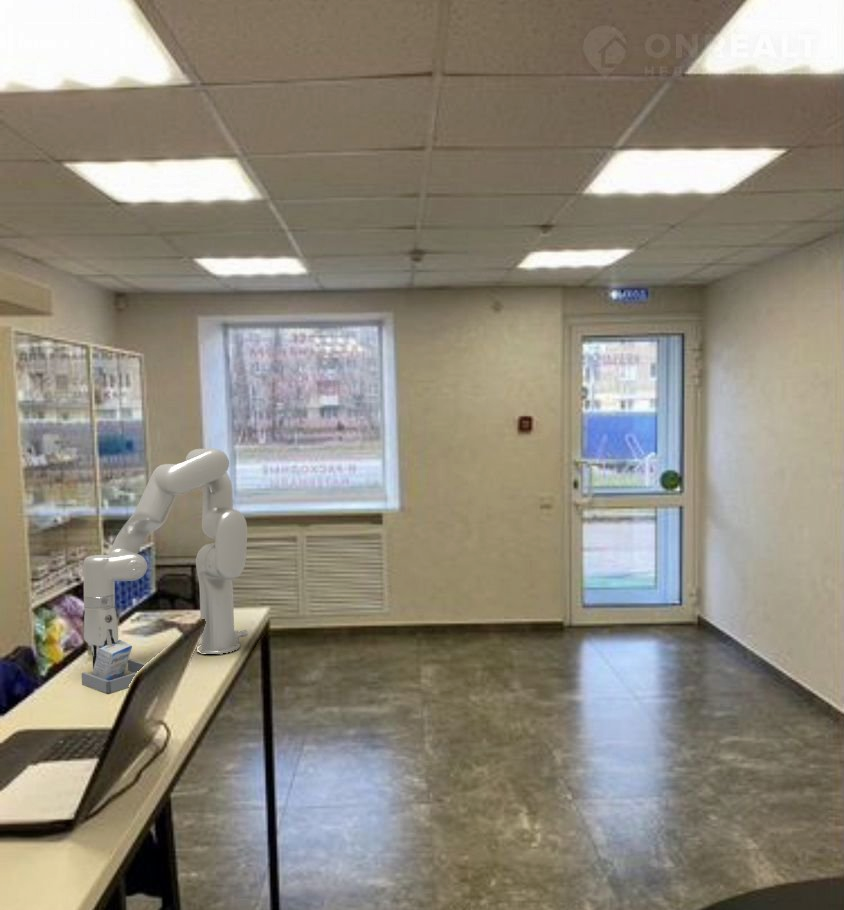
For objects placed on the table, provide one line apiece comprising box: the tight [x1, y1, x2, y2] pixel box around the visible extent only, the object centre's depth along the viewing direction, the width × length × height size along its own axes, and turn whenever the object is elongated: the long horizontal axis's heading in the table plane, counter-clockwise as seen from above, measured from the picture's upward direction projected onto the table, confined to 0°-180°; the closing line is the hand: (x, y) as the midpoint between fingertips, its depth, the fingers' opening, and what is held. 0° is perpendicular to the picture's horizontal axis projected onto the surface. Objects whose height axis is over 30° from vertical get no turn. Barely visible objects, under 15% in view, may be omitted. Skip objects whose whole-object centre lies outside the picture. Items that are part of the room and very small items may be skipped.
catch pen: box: [81, 658, 146, 695], centre depth 188 cm, size 14×13×3 cm
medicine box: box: [91, 639, 133, 681], centre depth 190 cm, size 8×4×9 cm, turn 164°
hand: (100, 670), depth 192 cm, fingers closed
